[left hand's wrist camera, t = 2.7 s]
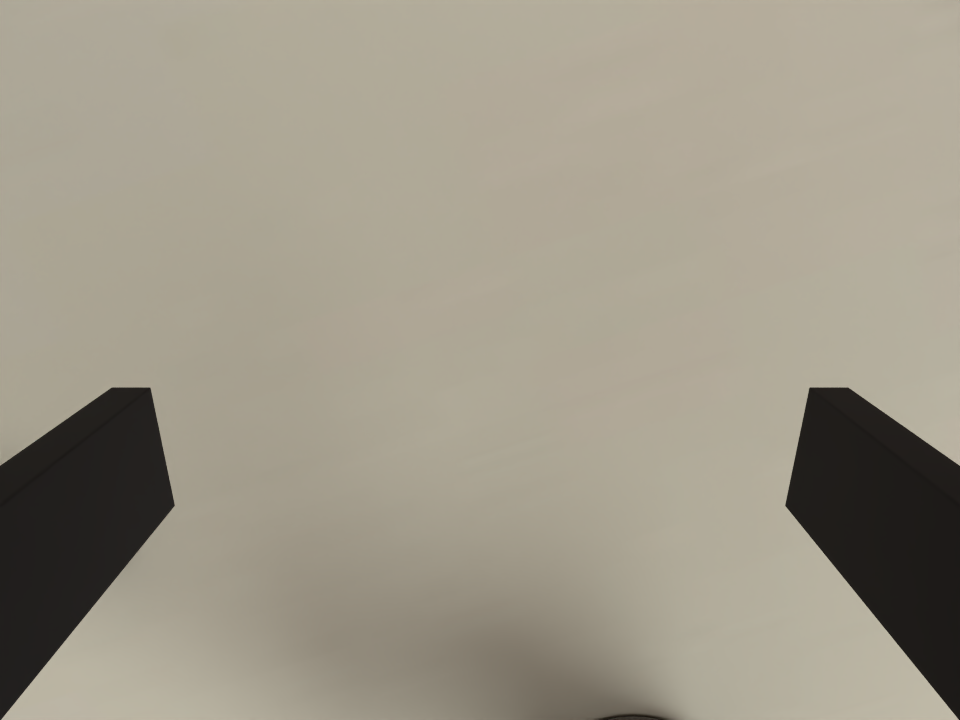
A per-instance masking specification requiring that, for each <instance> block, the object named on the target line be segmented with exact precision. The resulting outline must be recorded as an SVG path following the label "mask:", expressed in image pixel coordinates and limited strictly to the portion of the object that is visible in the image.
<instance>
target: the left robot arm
mask: <svg viewBox="0 0 960 720" xmlns="http://www.w3.org/2000/svg"><path fill="white" fill-rule="evenodd" d="M174 506H175V505H174V500H173V495H172V490H171V485H170V481H169V476H168V471H167V466H166V461H165V456H164V451H163V447H162V442H161V437H160V432H159V427H158V422H157V418H156V413H155V408H154V403H153V398H152V393H151V388H111V389H109V390H108V391H106V392H105V393H104V394H102V395H101V396H99V397H98V398H96V399H95V400H94V401H92V402H91V403H89V404H88V405H86V406H85V407H84V408H82V409H81V410H79V411H78V412H76V413H75V414H74V415H72V416H71V417H69V418H68V419H66V420H65V421H64V422H62V423H61V424H59V425H58V426H56V427H55V428H54V429H52V430H51V431H49V432H48V433H46V434H45V435H44V436H42V437H41V438H39V439H38V440H37V441H35V442H34V443H32V444H31V445H29V446H28V447H27V448H25V449H24V450H22V451H21V452H19V453H18V454H17V455H15V456H14V457H12V458H11V459H9V460H8V461H7V462H5V463H4V464H2V465H1V466H0V720H1V719H2V718H3V717H4V715H5V714H6V713H7V712H8V710H9V709H10V708H11V707H12V705H13V704H14V703H15V702H16V701H17V699H18V698H19V697H20V696H21V694H22V693H23V692H24V691H25V689H26V688H27V687H28V686H29V685H30V683H31V682H32V681H33V680H34V678H35V677H36V676H37V675H38V673H39V672H40V671H41V670H42V669H43V667H44V666H45V665H46V664H47V662H48V661H49V660H50V659H51V657H52V656H53V655H54V654H55V652H56V651H57V650H58V649H59V648H60V646H61V645H62V644H63V643H64V641H65V640H66V639H67V638H68V636H69V635H70V634H71V633H72V632H73V630H74V629H75V628H76V627H77V625H78V624H79V623H80V622H81V620H82V619H83V618H84V617H85V616H86V614H87V613H88V612H89V611H90V609H91V608H92V607H93V606H94V604H95V603H96V602H97V601H98V600H99V598H100V597H101V596H102V595H103V593H104V592H105V591H106V590H107V588H108V587H109V586H110V585H111V583H112V582H113V581H114V580H115V579H116V577H117V576H118V575H119V574H120V572H121V571H122V570H123V569H124V567H125V566H126V565H127V564H128V563H129V561H130V560H131V559H132V558H133V556H134V555H135V554H136V553H137V551H138V550H139V549H140V548H141V547H142V545H143V544H144V543H145V542H146V540H147V539H148V538H149V537H150V535H151V534H152V533H153V532H154V531H155V529H156V528H157V527H158V526H159V524H160V523H161V522H162V521H163V519H164V518H165V517H166V516H167V514H168V513H169V512H170V511H171V510H172V508H173V507H174ZM785 506H786V507H787V508H788V510H789V511H790V512H791V513H792V515H793V516H794V517H795V518H796V519H797V521H798V522H799V523H800V524H801V526H802V527H803V528H804V529H805V531H806V532H807V533H808V534H809V535H810V537H811V538H812V539H813V540H814V542H815V543H816V544H817V545H818V547H819V548H820V549H821V550H822V551H823V553H824V554H825V555H826V556H827V558H828V559H829V560H830V561H831V563H832V564H833V565H834V566H835V567H836V569H837V570H838V571H839V572H840V574H841V575H842V576H843V577H844V579H845V580H846V581H847V582H848V583H849V585H850V586H851V587H852V588H853V590H854V591H855V592H856V593H857V595H858V596H859V597H860V598H861V600H862V601H863V602H864V603H865V604H866V606H867V607H868V608H869V609H870V611H871V612H872V613H873V614H874V616H875V617H876V618H877V619H878V620H879V622H880V623H881V624H882V625H883V627H884V628H885V629H886V630H887V632H888V633H889V634H890V635H891V636H892V638H893V639H894V640H895V641H896V643H897V644H898V645H899V646H900V648H901V649H902V650H903V651H904V652H905V654H906V655H907V656H908V657H909V659H910V660H911V661H912V662H913V664H914V665H915V666H916V667H917V669H918V670H919V671H920V672H921V673H922V675H923V676H924V677H925V678H926V680H927V681H928V682H929V683H930V685H931V686H932V687H933V688H934V689H935V691H936V692H937V693H938V694H939V696H940V697H941V698H942V699H943V701H944V702H945V703H946V704H947V705H948V707H949V708H950V709H951V710H952V712H953V713H954V714H955V715H956V717H957V718H958V719H959V720H960V466H959V465H958V464H956V463H955V462H953V461H952V460H951V459H949V458H948V457H946V456H945V455H943V454H942V453H941V452H939V451H938V450H936V449H935V448H933V447H932V446H931V445H929V444H928V443H926V442H925V441H923V440H922V439H921V438H919V437H918V436H916V435H915V434H914V433H912V432H911V431H909V430H908V429H906V428H905V427H904V426H902V425H901V424H899V423H898V422H896V421H895V420H894V419H892V418H891V417H889V416H888V415H886V414H885V413H884V412H882V411H881V410H879V409H878V408H876V407H875V406H874V405H872V404H871V403H869V402H868V401H866V400H865V399H864V398H862V397H861V396H859V395H858V394H856V393H855V392H854V391H852V390H851V389H849V388H809V393H808V398H807V403H806V408H805V413H804V418H803V422H802V427H801V432H800V437H799V442H798V447H797V451H796V456H795V461H794V466H793V471H792V476H791V480H790V485H789V490H788V495H787V500H786V505H785ZM607 720H660V719H655V718H649V717H635V716H633V717H618V718H612V719H607Z"/></svg>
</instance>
